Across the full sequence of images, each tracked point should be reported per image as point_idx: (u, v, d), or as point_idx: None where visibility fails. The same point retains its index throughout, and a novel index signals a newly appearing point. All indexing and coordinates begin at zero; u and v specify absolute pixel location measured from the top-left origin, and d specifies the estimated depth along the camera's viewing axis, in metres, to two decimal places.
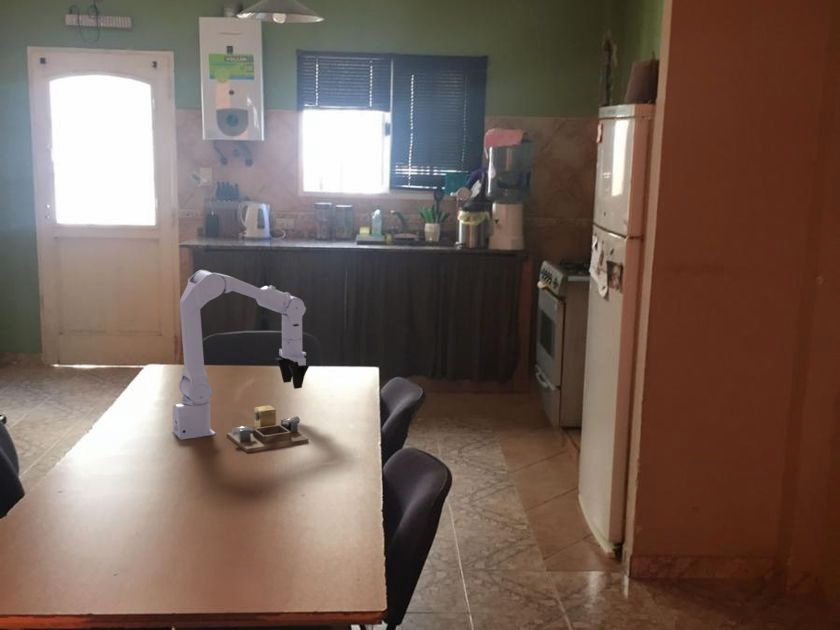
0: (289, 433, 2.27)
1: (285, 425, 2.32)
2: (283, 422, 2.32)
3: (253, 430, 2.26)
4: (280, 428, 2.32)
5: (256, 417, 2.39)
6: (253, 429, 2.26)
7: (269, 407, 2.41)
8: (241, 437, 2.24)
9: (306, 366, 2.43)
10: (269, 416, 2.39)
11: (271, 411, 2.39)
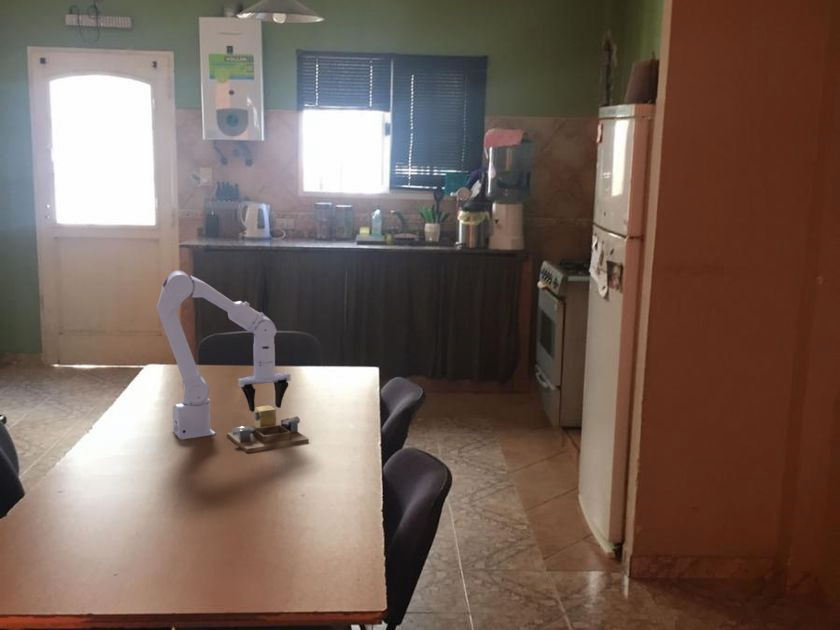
0: (289, 433, 2.27)
1: (285, 425, 2.32)
2: (283, 422, 2.32)
3: (253, 430, 2.26)
4: (280, 428, 2.32)
5: (256, 417, 2.39)
6: (253, 429, 2.26)
7: (269, 407, 2.41)
8: (241, 437, 2.24)
9: (245, 389, 2.35)
10: (269, 416, 2.39)
11: (271, 411, 2.39)
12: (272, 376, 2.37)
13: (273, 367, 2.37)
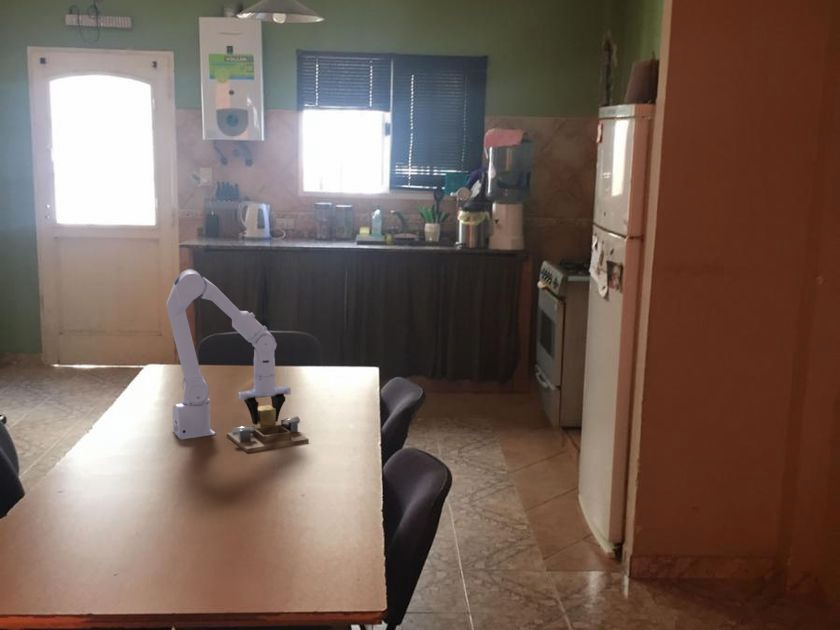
0: (289, 433, 2.27)
1: (285, 425, 2.32)
2: (283, 422, 2.32)
3: (253, 430, 2.26)
4: (280, 428, 2.32)
5: None
6: (253, 429, 2.26)
7: (269, 407, 2.41)
8: (241, 437, 2.24)
9: (249, 403, 2.36)
10: (269, 416, 2.39)
11: (271, 411, 2.39)
12: (272, 390, 2.38)
13: (273, 381, 2.38)
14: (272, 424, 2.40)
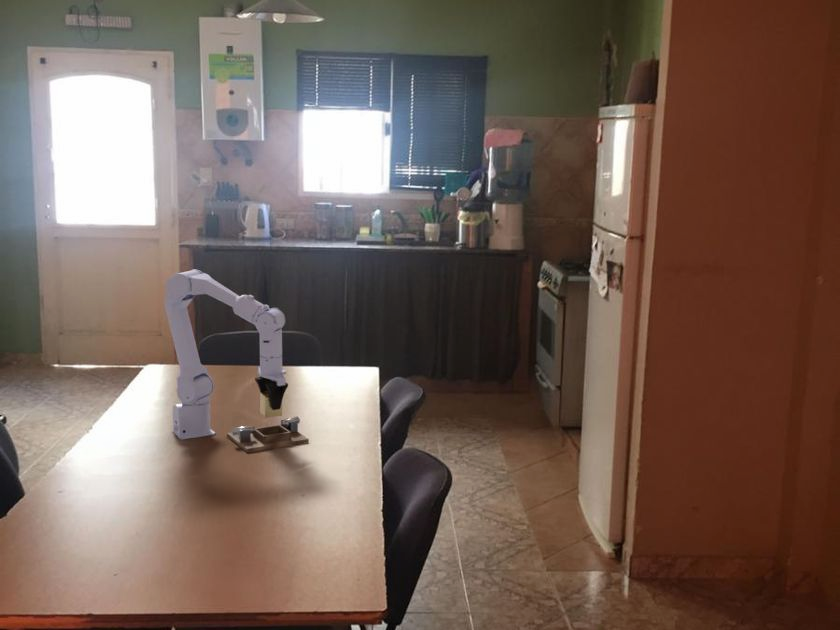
0: (289, 433, 2.27)
1: (285, 425, 2.32)
2: (283, 422, 2.32)
3: (253, 430, 2.26)
4: (280, 428, 2.32)
5: None
6: (253, 429, 2.26)
7: None
8: (241, 437, 2.24)
9: (285, 385, 2.23)
10: None
11: None
12: None
13: None
14: None
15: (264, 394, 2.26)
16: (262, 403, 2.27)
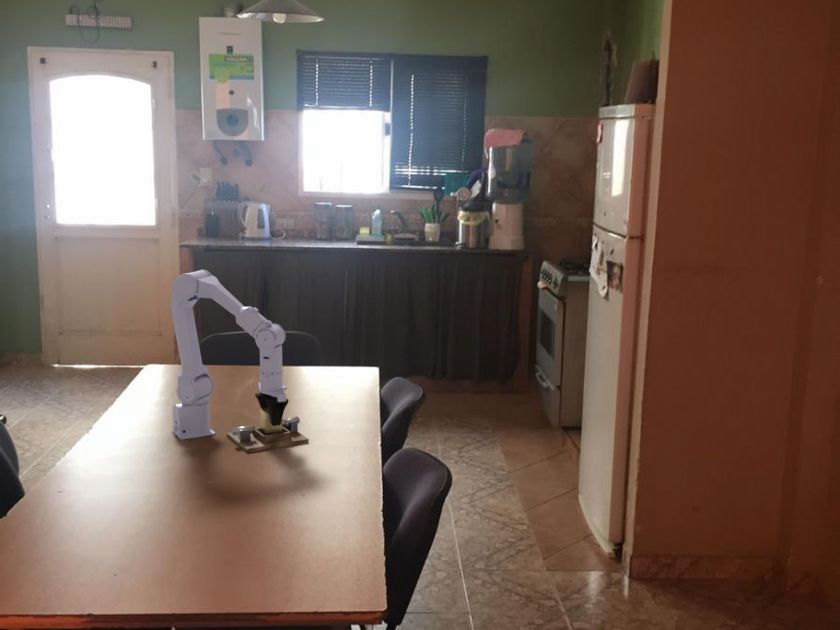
0: (289, 433, 2.27)
1: (285, 425, 2.32)
2: (283, 422, 2.32)
3: (253, 430, 2.26)
4: None
5: None
6: (253, 429, 2.26)
7: (268, 407, 2.29)
8: (241, 437, 2.24)
9: (285, 401, 2.24)
10: None
11: None
12: None
13: None
14: None
15: (264, 410, 2.27)
16: (262, 418, 2.27)
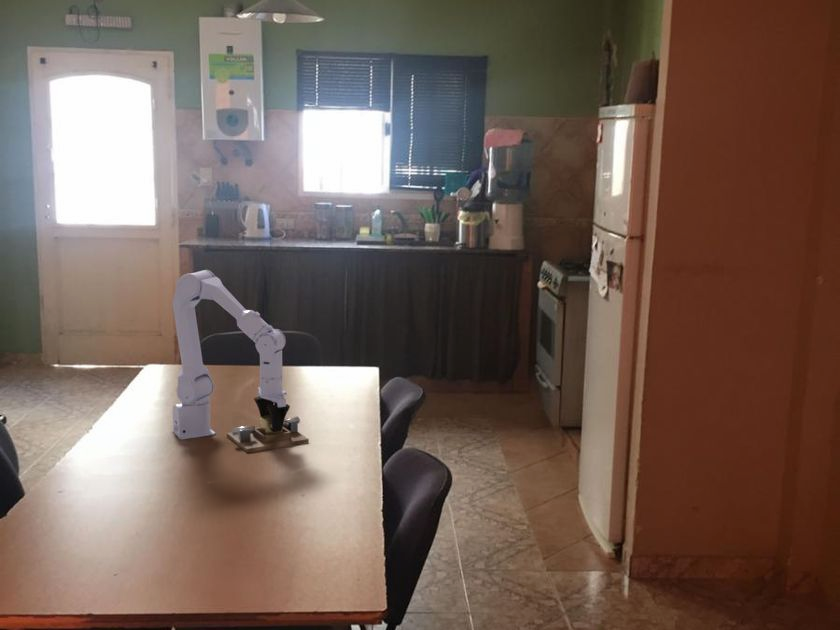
0: (289, 433, 2.27)
1: (285, 425, 2.32)
2: None
3: (253, 430, 2.26)
4: None
5: None
6: (253, 429, 2.26)
7: (268, 416, 2.29)
8: (241, 437, 2.24)
9: (286, 407, 2.23)
10: None
11: None
12: None
13: None
14: None
15: (264, 418, 2.27)
16: (262, 427, 2.28)
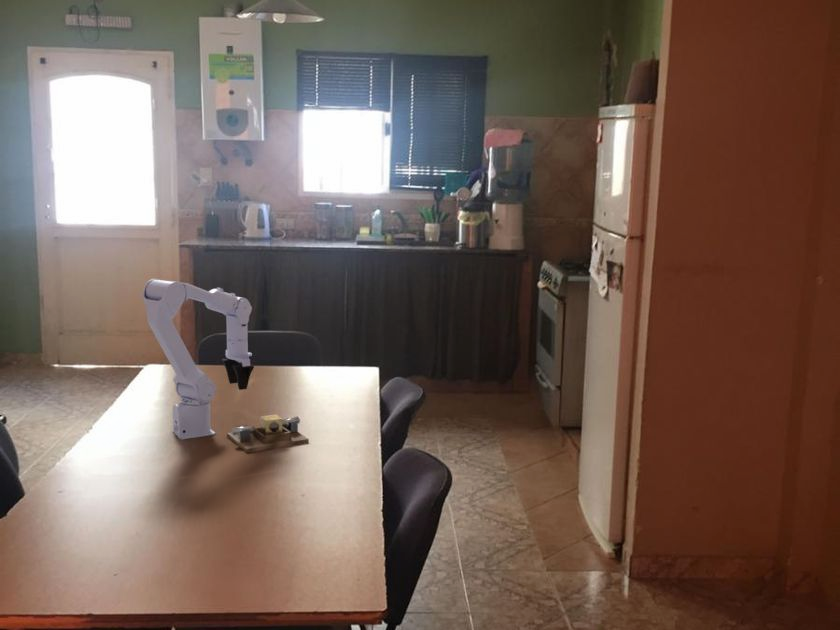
0: (289, 433, 2.27)
1: (285, 425, 2.32)
2: (283, 422, 2.32)
3: (253, 430, 2.26)
4: None
5: (276, 427, 2.26)
6: (253, 429, 2.26)
7: (268, 416, 2.29)
8: (241, 437, 2.24)
9: (251, 367, 2.40)
10: None
11: None
12: None
13: None
14: None
15: (264, 418, 2.27)
16: (262, 427, 2.28)
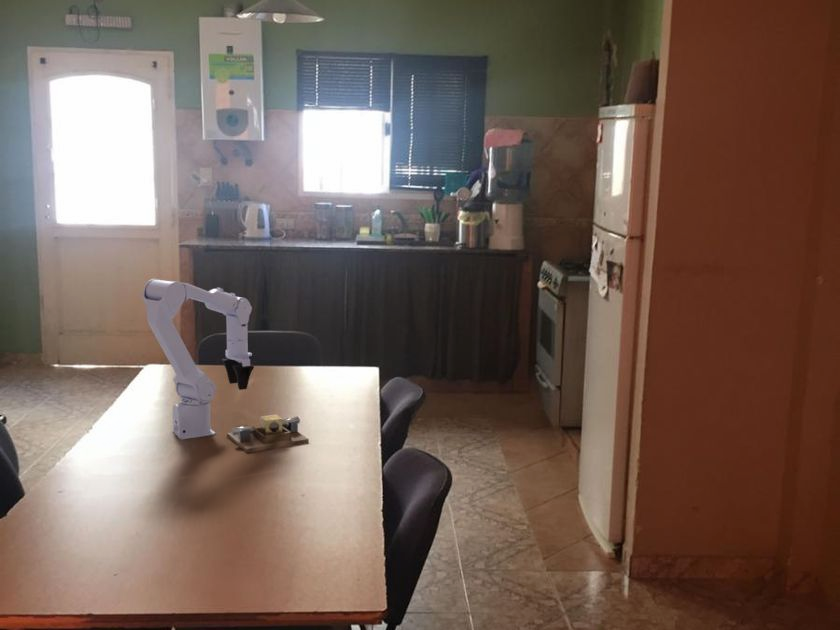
0: (289, 433, 2.27)
1: (285, 425, 2.32)
2: (283, 422, 2.32)
3: (253, 430, 2.26)
4: None
5: (276, 427, 2.26)
6: (253, 429, 2.26)
7: (268, 416, 2.29)
8: (241, 437, 2.24)
9: (251, 367, 2.41)
10: None
11: None
12: None
13: None
14: None
15: (264, 418, 2.27)
16: (262, 427, 2.28)
